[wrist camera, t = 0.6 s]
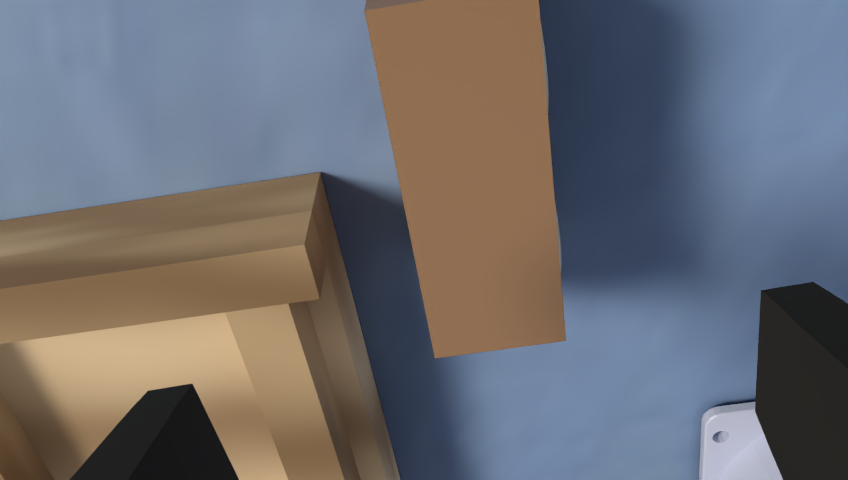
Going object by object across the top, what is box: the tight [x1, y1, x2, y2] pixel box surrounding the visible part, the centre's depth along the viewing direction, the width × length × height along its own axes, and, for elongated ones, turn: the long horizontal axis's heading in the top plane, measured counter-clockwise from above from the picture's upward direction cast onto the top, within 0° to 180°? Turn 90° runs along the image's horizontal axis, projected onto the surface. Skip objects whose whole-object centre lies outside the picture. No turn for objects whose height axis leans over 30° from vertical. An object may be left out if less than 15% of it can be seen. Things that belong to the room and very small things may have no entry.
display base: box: [0, 172, 401, 480], centre depth 22 cm, size 14×12×4 cm
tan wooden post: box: [365, 0, 566, 358], centre depth 17 cm, size 8×3×4 cm, turn 9°
